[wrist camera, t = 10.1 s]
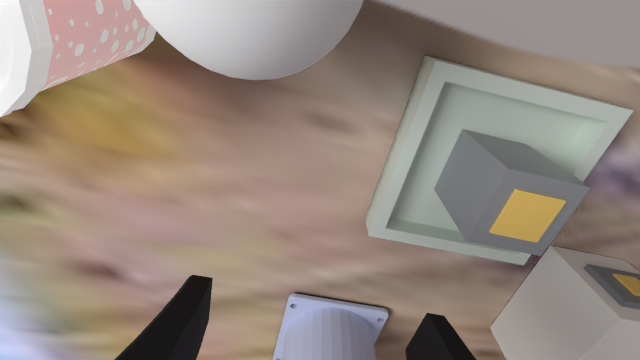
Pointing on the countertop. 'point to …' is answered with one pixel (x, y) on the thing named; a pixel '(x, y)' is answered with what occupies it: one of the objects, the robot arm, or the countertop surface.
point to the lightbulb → (252, 32)
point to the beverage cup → (63, 42)
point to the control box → (573, 310)
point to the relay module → (507, 193)
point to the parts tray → (486, 118)
